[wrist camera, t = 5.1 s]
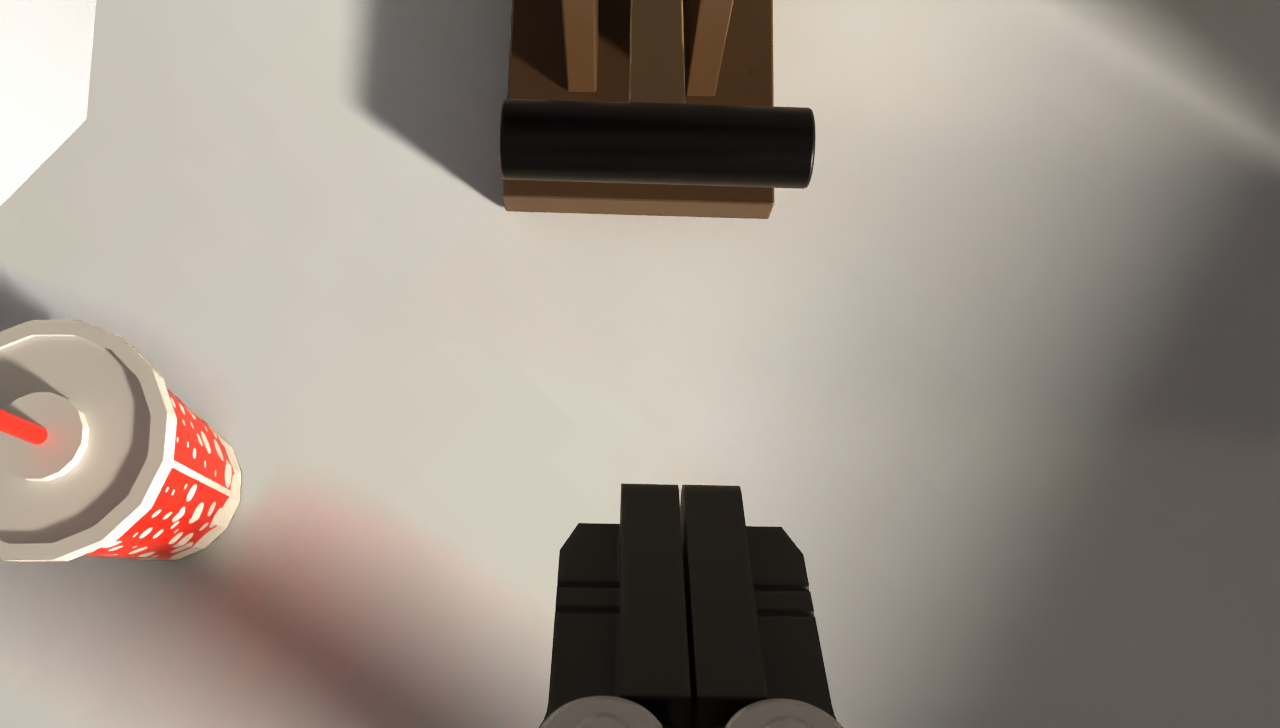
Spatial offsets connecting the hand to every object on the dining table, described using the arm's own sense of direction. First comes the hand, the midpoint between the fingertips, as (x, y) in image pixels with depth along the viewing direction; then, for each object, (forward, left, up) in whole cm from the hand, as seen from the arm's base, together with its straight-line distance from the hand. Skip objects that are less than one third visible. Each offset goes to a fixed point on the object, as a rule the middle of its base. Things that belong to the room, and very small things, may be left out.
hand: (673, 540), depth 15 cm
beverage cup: (+12, -10, -24) cm, 28 cm away
